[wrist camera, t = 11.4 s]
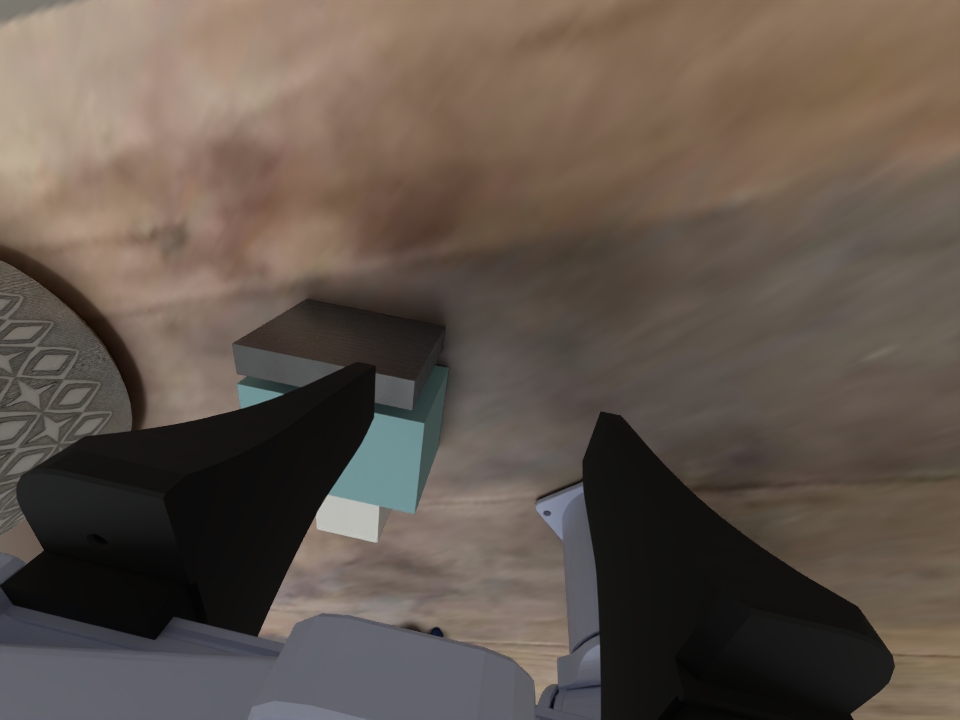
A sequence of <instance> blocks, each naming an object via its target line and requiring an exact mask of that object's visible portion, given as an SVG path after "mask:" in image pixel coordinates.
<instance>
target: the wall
mask: <svg viewBox="0 0 960 720" xmlns="http://www.w3.org/2000/svg"><path fill="white" fill-rule="evenodd" d="M444 334H445V327H444V326H439V325H434V324H429V323H424V322H419V321H414V320H409V319H403V318H398V317H393V316H388V315H383V314H378V313H373V312H368V311H363V310H358V309H353V308H348V307H343V306H338V305H333V304H327V303H322V302H317V301H312V300H307V299H306V300H304V301H302V302H301V303H299V304H297V305H296V306H294V307H292V308H291V309H289V310H287V311H286V312H284V313H282V314H281V315H279V316H277V317H276V318H274V319H272V320H271V321H269V322H267V323H266V324H264V325H262V326H261V327H259V328H257V329H256V330H254V331H252V332H251V333H249V334H247V335H246V336H244V337H242V338H241V339H239V340H237V341H236V342H234V343H232V346H233V353H234V359H235V365H236V371H237V374H240V375H245V376H250V377H255V378H260V379H264V380H269V381H274V382H279V383H284V384H288V385H293V386H298V387H303V386H305V385H307V384H309V383H312V382H314V381H316V380H318V379H320V378H323V377H325V376H327V375H329V374H331V373H333V372H335V371H337V370H340V369H342V368H344V367H346V366H348V365H351V364H353V363H356V362H361V363H366V364H371V365H376V379H375V403H379V404H384V405H389V406H394V407H398V408H403V409H408V410H413V408H414V406H415V404H416V402H417V400H418V398H419V396H420V394H421V392H422V390H423V388H424V386H425V384H426V382H427V380H428V378H429V376H430V374H431V372H432V370H433V368H434V366H435V364H436V363H437V361H438V359H439V357H440V355H441V353H442V350H443V342H444Z"/></svg>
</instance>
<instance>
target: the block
mask: <svg viewBox="0 0 960 720" xmlns="http://www.w3.org/2000/svg"><path fill="white" fill-rule="evenodd" d="M448 370H449V368H447V367H442V366H437V365H435V366H434V368H433V370H432V372H431V374H430V376H429V378H428V380H427V382H426V384H425V386H424V388H423V390H422V392H421V394H420V396H419V398H418V400H417V402H416V404H415V406H414V408H413V410H408V409H403V408H398V407H394V406H389V405H384V404H379V403H375V410H374V419H373V421H372V423H371V426H370V428H369V430H368V432H367V434H366V436H365V438H364V440H363V442H362V444H361V445H360V447H359V449H358V450H357V452H356V453H355V455H354V456H353V458H352V459H351V461H350V462H349V464H348V465H347V467H346V468H345V470H344V471H343V473H342V474H341V476H340V477H339V479H338V480H337V482H336V483H335V485H334V486H333V488H332V489H331V491H330V492H329V494H328V495H331V496H336V497H340V498H345V499H349V500H354V501H358V502H363V503H367V504H372V505H376V506H381V507H385V508H390V509H394V510H399V511H403V512H408V513H412V514H415V512H416V509H417V506H418V503H419V501H420V498H421V495H422V492H423V489H424V486H425V484H426V481H427V478H428V475H429V472H430V469H431V467H432V464H433V461H434V458H435V455H436V452H437V450H438V445H439V438H440V430H441V423H442V415H443V408H444V400H445V392H446V385H447V377H448ZM237 388H238V394H239V400H240V406H241V409H243V408H246V407H249V406H252V405H255V404H258V403H261V402H264V401H267V400H270V399H273V398H276V397H278V396H281V395H283V394H285V393H288V392H290V391H293V390H295V389H298V388H300V387H298V386H293V385H288V384H284V383H279V382H274V381H269V380H264V379H260V378H255V377H250V376H247V377H246V378H244V379H243V380H241V381H240V382H239V383H237Z"/></svg>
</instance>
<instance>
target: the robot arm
mask: <svg viewBox="0 0 960 720" xmlns="http://www.w3.org/2000/svg"><path fill="white" fill-rule="evenodd" d="M375 379H376V365H371V364H366V363H361V362H356V363H353V364H351V365H348V366H346V367H344V368H342V369H340V370H337V371H335V372H333V373H331V374H329V375H327V376H325V377H323V378H320V379H318V380H316V381H314V382H312V383H309V384H307V385H305V386H303V387H300V388H298V389H295V390H293V391H290V392H288V393H285V394H283V395H281V396H278V397H276V398H273V399H270V400H267V401H264V402H261V403H258V404H255V405H252V406H249V407H246V408H243V409H239V410H236V411H232V412H228V413H224V414H220V415H216V416H212V417H208V418H203V419H199V420H195V421H190V422H185V423H179V424H174V425H168V426H162V427H156V428H150V429H143V430H135V431H127V432H118V433H109V434H101V435H91V436H85V437H83V438H81V439H79V440H78V441H76V442H75V443H73V444H71V445H70V446H68V447H66V448H65V449H63V450H62V451H60V452H58V453H57V454H55V455H54V456H52V457H50V458H49V459H47V460H45V461H44V462H42V463H41V464H39V465H37V466H36V467H34V468H33V469H31V470H29V471H28V472H26V473H24V474H23V475H21V477H20V479H19V481H18V483H17V486H16V498H17V501H18V503H19V506H20V508H21V511H22V512H23V514H24V516H25V518H26V519H27V521H28V523H29V525H30V526H31V528H32V530H33V532H34V533H35V535H36V537H37V539H38V540H39V542H40V544H41V546H42V547H43V549H44V551H43V552H42V553H41V554H39V555H38V556H37V557H35V558H34V559H33V560H32V561H30V562H29V563H28V564H26V563H25V562H24V561H22V560H21V559H19V558H18V557H15V556H13V555H10V554H7V553H2V552H0V720H853V718H852V716H851V715H850V714H851V713H852V712H853V711H855V710H856V709H857V708H859V707H860V706H861V705H863V704H864V703H865V702H867V701H868V700H869V699H871V698H872V697H873V696H875V695H876V694H877V693H878V692H880V691H881V690H882V689H883V688H884V687H885V686H886V685H887V684H888V683H889V681H890V679H891V676H892V673H893V670H894V668H895V665H894V660H893V656H892V654H891V653H890V651H889V650H888V648H887V647H886V646H885V644H884V643H883V641H882V640H881V638H880V637H879V636H878V634H877V633H876V631H875V630H874V629H873V627H872V626H871V624H870V623H869V621H868V620H867V619H866V617H865V616H864V614H863V613H862V612H861V610H860V609H859V608H858V607H857V606H856V605H854V604H852V603H851V602H849V601H847V600H845V599H844V598H842V597H840V596H839V595H837V594H835V593H833V592H832V591H830V590H828V589H827V588H825V587H823V586H821V585H820V584H818V583H816V582H815V581H813V580H811V579H809V578H808V577H806V576H804V575H803V574H801V573H800V572H798V571H796V570H795V569H793V568H792V567H790V566H789V565H787V564H786V563H784V562H783V561H781V560H780V559H778V558H777V557H775V556H774V555H772V554H770V553H769V552H768V551H766V550H765V549H763V548H762V547H760V546H759V545H758V544H756V543H755V542H753V541H752V540H750V539H749V538H748V537H746V536H745V535H744V534H742V533H741V532H740V531H738V530H737V529H736V528H735V527H733V526H732V525H731V524H729V523H728V522H727V521H725V520H724V519H723V518H722V517H720V516H719V515H718V514H717V513H715V512H714V511H713V510H712V509H711V508H710V507H708V506H707V505H706V504H705V503H704V502H703V501H702V500H700V499H699V498H698V497H697V496H696V495H695V494H694V493H693V492H691V491H690V490H689V489H688V488H687V487H686V486H685V485H684V484H683V483H682V482H681V481H680V480H679V479H678V478H677V477H676V476H675V475H674V474H673V473H672V472H671V471H670V470H669V469H668V468H667V467H666V466H665V465H664V464H663V463H662V462H661V460H660V459H659V458H658V457H657V456H656V455H655V454H654V453H653V452H652V450H651V449H650V448H649V447H648V446H647V445H646V444H645V443H644V441H643V440H642V439H641V438H640V437H639V436H638V434H637V433H636V432H635V431H634V430H633V429H632V427H631V426H630V425H629V424H628V423H627V422H626V421H625V420H624V419H623V418H622V417H621V416H620V415H616V414H611V413H606V412H600V415H599V418H598V420H597V423H596V426H595V428H594V431H593V434H592V437H591V439H590V442H589V445H588V448H587V450H586V453H585V456H584V459H583V482H581V483H579V484H576V485H574V486H571V487H569V488H566V489H564V490H561V491H559V492H556V493H554V494H552V495H549V496H547V497H544V498H542V499H539V500H538V501H537V502H536V510H537V512H538V513H539V514H540V515H541V516H542V517H543V519H544V520H545V521H546V522H547V523H548V525H549V526H550V527H551V528H552V529H553V530H554V532H555V533H556V534H557V535H558V536H559V538H560V539H561V540H562V541H563V551H564V567H565V584H566V601H567V617H568V634H569V651H570V654H569V655H567V656H563V657H559V658H557V670H558V684H552V685H550V686H548V687H546V688H545V690H544V691H543V693H542V695H541V697H540V699H539V702H538V705H535V687H534V680H533V679H532V678H531V677H530V675H529V674H528V673H527V672H526V671H525V670H524V669H523V668H522V667H520V666H519V665H518V664H517V663H516V662H515V661H514V660H513V659H512V658H510V657H507V656H505V655H502V654H500V653H497V652H495V651H492V650H490V649H487V648H485V647H481V646H477V645H472V644H468V643H464V642H460V641H455V640H451V639H447V638H443V637H439V636H434V635H430V634H426V633H422V632H418V631H413V630H409V629H405V628H401V627H396V626H392V625H388V624H384V623H380V622H375V621H371V620H367V619H363V618H359V617H354V616H350V615H338V614H326V613H322V614H319V615H317V616H314V617H311V618H309V619H306V620H303V621H301V622H298V623H296V624H295V626H294V628H293V630H292V632H291V634H290V636H289V637H288V639H287V641H286V643H285V644H284V643H280V642H276V641H271V640H267V639H263V638H259V637H257V636H258V634H259V632H260V630H261V627H262V625H263V623H264V621H265V618H266V616H267V614H268V611H269V609H270V607H271V605H272V603H273V601H274V598H275V596H276V594H277V592H278V590H279V588H280V586H281V583H282V581H283V579H284V577H285V575H286V573H287V571H288V569H289V567H290V565H291V563H292V561H293V559H294V557H295V555H296V553H297V551H298V549H299V546H300V544H301V542H302V540H303V538H304V537H305V535H306V533H307V531H308V529H309V527H310V525H311V523H312V521H313V519H314V517H315V516H316V514H317V512H318V510H319V508H320V507H321V505H322V503H323V502H324V500H325V498H326V497H327V495H328V494H329V492H330V491H331V489H332V488H333V486H334V485H335V483H336V482H337V480H338V479H339V477H340V476H341V474H342V473H343V471H344V470H345V468H346V467H347V465H348V464H349V462H350V461H351V459H352V458H353V456H354V455H355V453H356V452H357V450H358V449H359V447H360V445H361V444H362V442H363V440H364V438H365V436H366V434H367V432H368V430H369V428H370V426H371V423H372V421H373V419H374V410H375ZM547 511H548V512H547Z"/></svg>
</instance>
